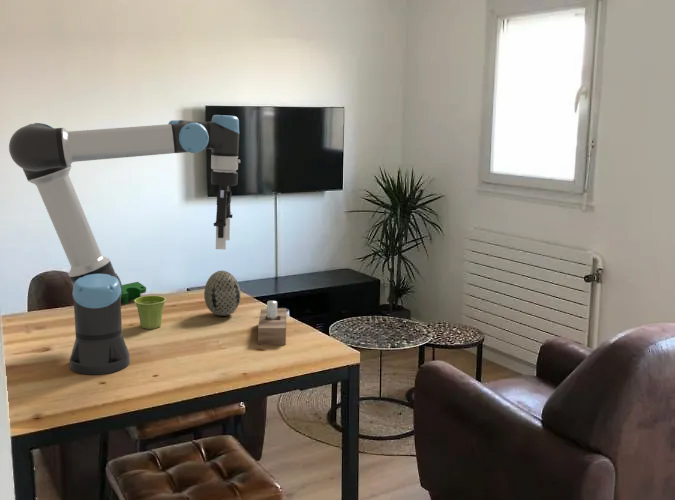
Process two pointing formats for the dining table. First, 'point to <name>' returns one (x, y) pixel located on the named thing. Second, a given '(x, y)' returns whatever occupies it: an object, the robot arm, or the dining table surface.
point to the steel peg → (272, 310)
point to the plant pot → (150, 311)
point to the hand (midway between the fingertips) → (222, 244)
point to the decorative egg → (222, 293)
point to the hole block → (272, 328)
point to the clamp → (131, 291)
